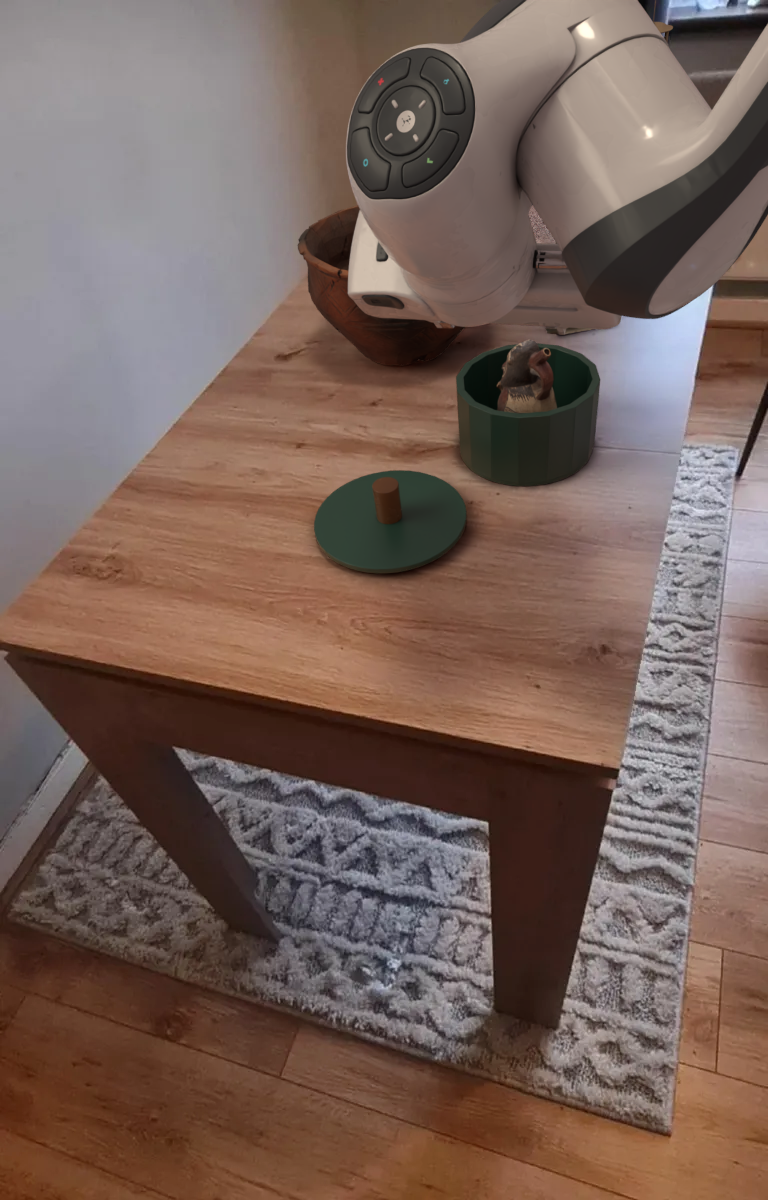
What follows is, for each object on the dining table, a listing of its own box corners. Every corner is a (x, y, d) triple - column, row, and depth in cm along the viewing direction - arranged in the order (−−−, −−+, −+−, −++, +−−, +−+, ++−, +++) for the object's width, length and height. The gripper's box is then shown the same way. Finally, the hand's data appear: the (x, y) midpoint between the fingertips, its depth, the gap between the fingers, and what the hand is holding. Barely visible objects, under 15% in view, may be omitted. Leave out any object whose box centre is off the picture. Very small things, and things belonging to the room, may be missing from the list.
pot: (619, 438, 88) (628, 369, 82) (535, 504, 82) (537, 434, 76) (517, 396, 96) (517, 330, 90) (433, 453, 90) (427, 386, 84)
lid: (498, 517, 81) (498, 476, 77) (388, 602, 74) (382, 561, 70) (392, 461, 90) (387, 422, 86) (285, 532, 83) (275, 492, 79)
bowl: (513, 302, 113) (513, 189, 103) (480, 395, 97) (476, 273, 86) (347, 299, 120) (332, 193, 109) (291, 386, 104) (266, 271, 93)
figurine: (527, 417, 92) (529, 318, 83) (572, 442, 88) (579, 341, 79) (480, 442, 89) (477, 343, 81) (524, 469, 85) (526, 368, 77)
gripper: (635, 208, 51) (635, 289, 64) (339, 206, 57) (394, 280, 70) (619, 308, 51) (622, 367, 64) (326, 295, 57) (384, 352, 70)
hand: (501, 322), depth 67 cm, fingers open, 8 cm apart
